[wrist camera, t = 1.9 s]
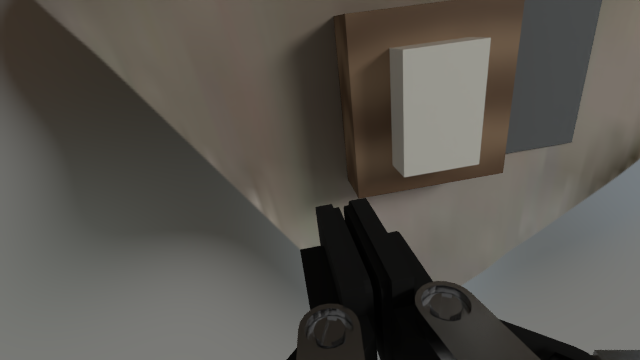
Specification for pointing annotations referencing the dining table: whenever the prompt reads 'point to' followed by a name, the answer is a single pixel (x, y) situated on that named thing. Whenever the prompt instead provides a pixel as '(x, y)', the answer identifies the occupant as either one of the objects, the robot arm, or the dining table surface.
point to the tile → (438, 104)
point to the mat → (550, 71)
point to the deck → (375, 92)
